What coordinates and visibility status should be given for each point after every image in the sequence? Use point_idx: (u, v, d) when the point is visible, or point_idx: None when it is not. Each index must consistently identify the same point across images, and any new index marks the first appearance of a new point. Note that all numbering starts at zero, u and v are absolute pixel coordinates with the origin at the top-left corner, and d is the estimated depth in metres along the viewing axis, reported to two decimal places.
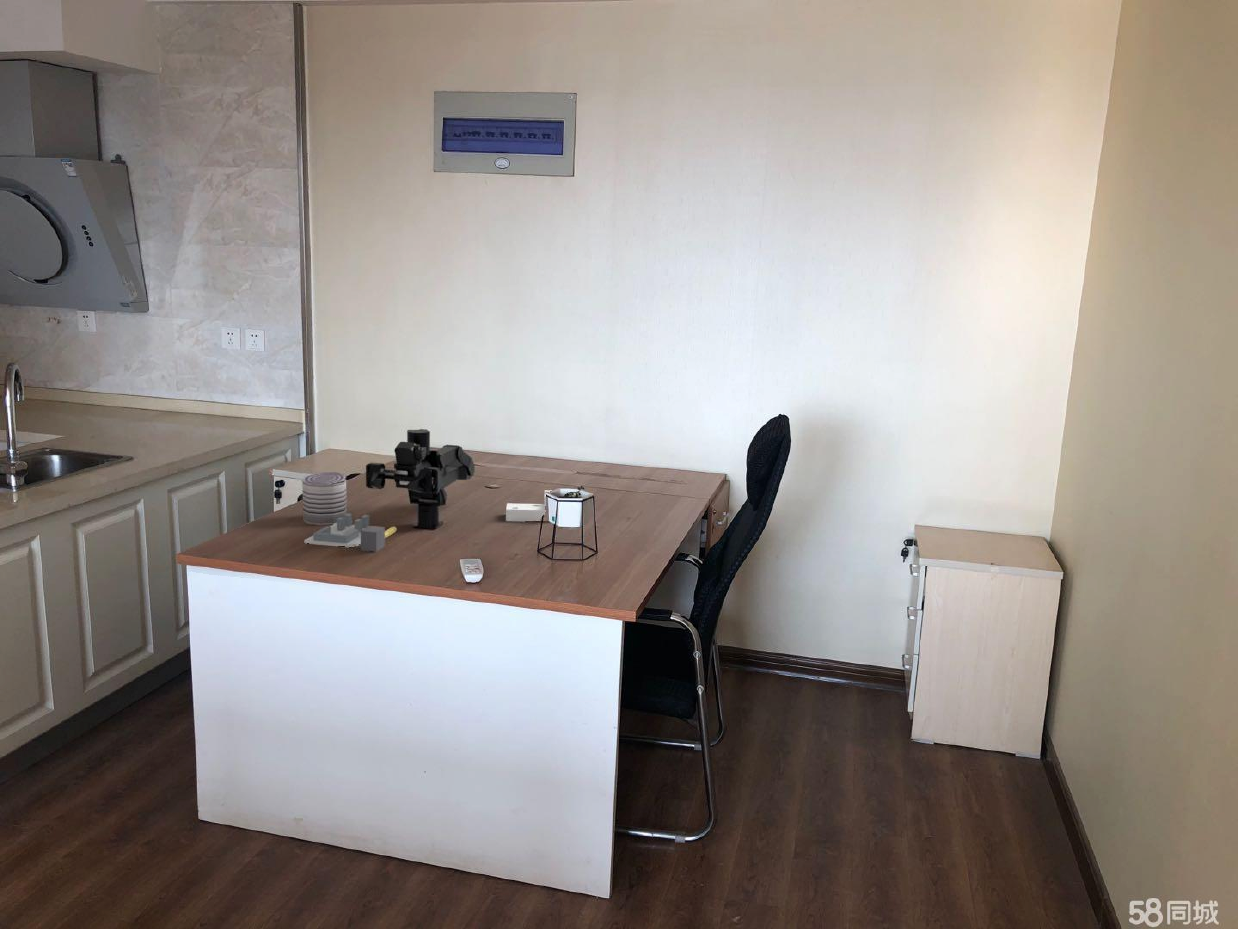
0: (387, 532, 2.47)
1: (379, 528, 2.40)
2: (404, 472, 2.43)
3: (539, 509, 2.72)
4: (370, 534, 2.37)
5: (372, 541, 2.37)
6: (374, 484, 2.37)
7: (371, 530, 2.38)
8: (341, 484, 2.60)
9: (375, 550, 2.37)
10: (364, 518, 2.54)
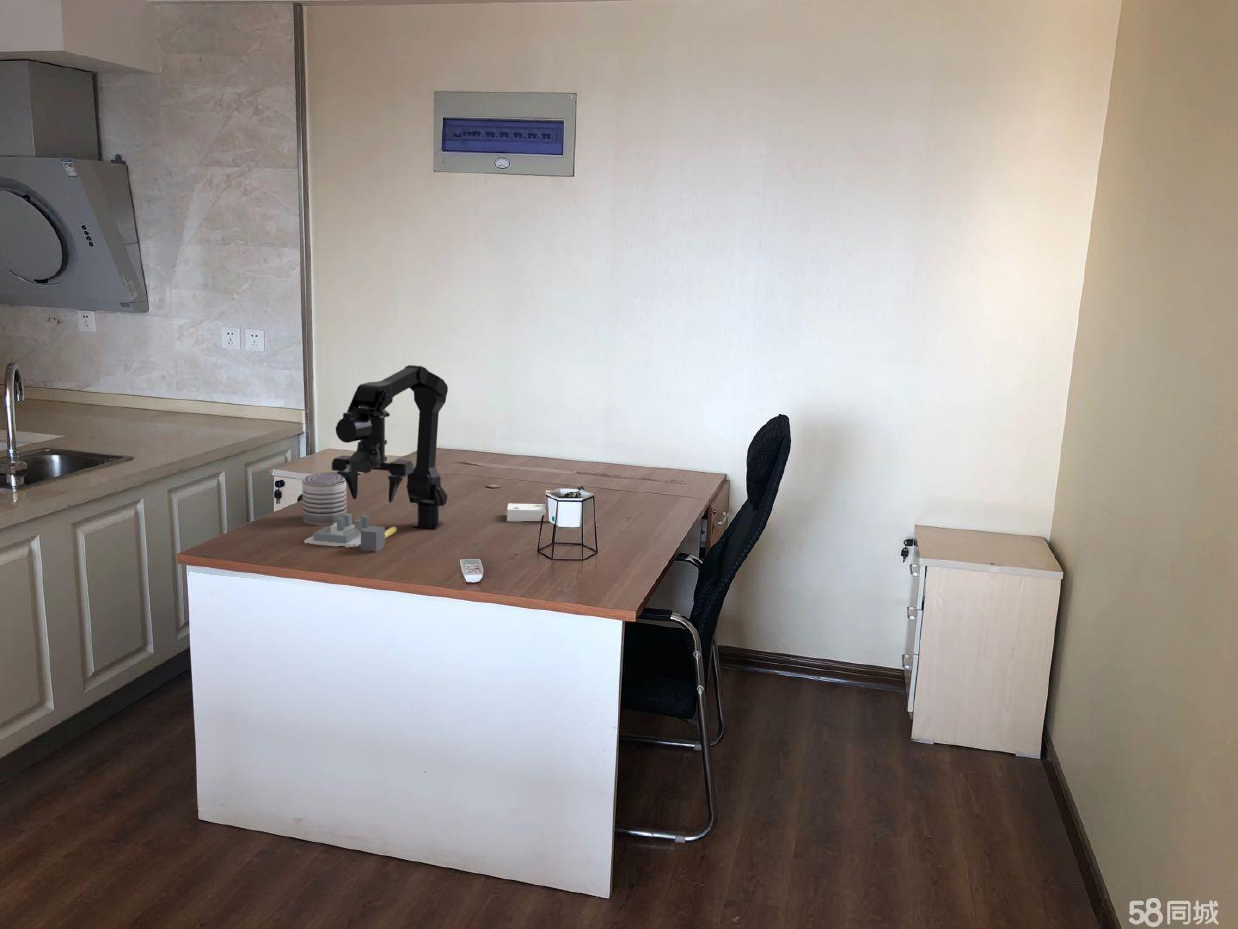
0: (387, 532, 2.47)
1: (379, 528, 2.40)
2: None
3: (540, 509, 2.72)
4: (370, 534, 2.37)
5: (372, 541, 2.37)
6: (356, 493, 2.39)
7: (371, 530, 2.38)
8: (341, 484, 2.60)
9: (375, 550, 2.37)
10: (364, 518, 2.54)
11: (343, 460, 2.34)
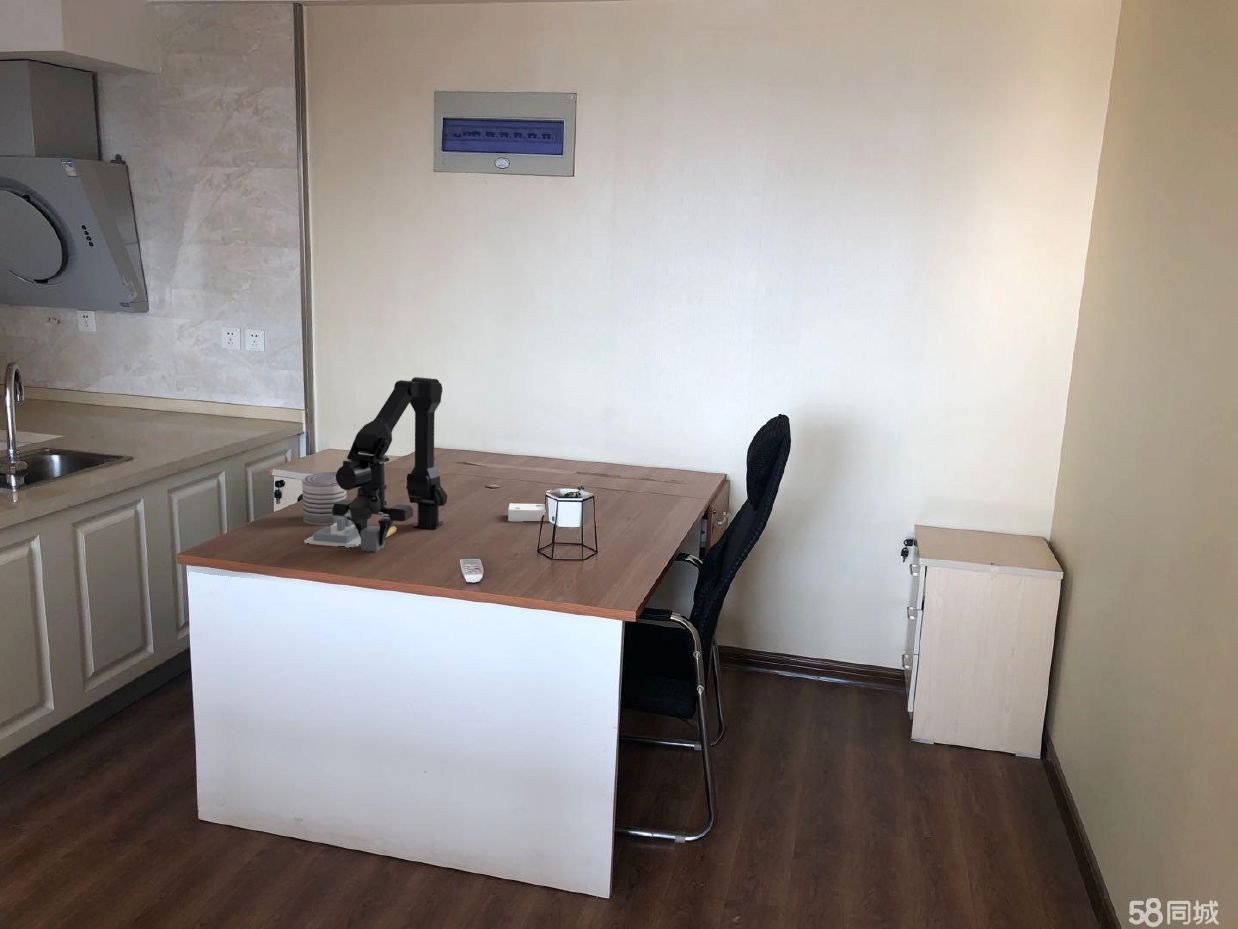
0: None
1: (379, 528, 2.40)
2: None
3: (541, 509, 2.72)
4: (370, 534, 2.37)
5: (372, 541, 2.37)
6: None
7: (371, 530, 2.38)
8: None
9: (375, 550, 2.37)
10: None
11: (343, 505, 2.37)
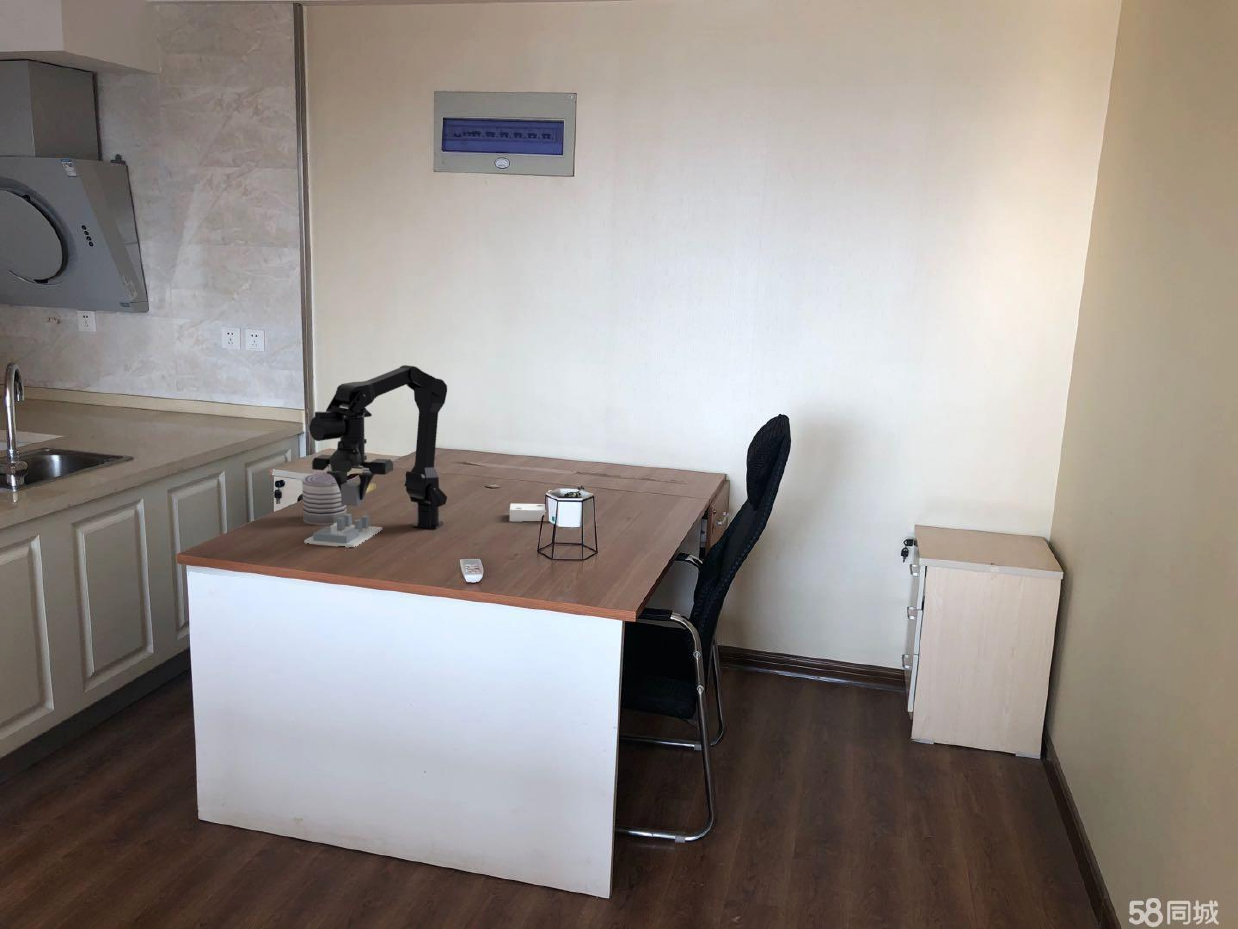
0: (367, 488, 2.48)
1: (359, 482, 2.41)
2: None
3: (543, 509, 2.72)
4: (351, 488, 2.38)
5: (353, 495, 2.38)
6: None
7: (351, 484, 2.39)
8: None
9: (355, 504, 2.38)
10: (364, 518, 2.54)
11: (323, 459, 2.37)
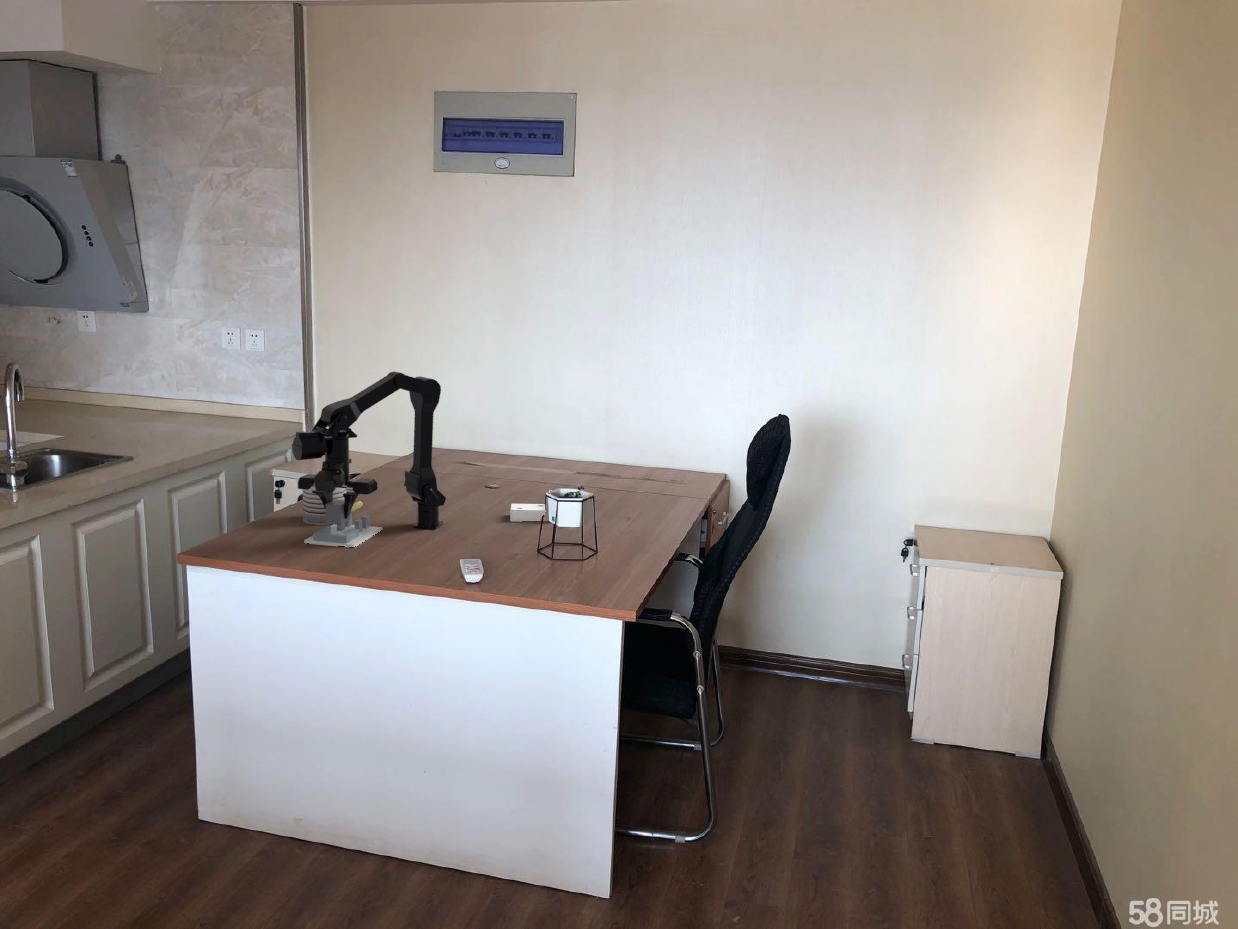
0: (353, 506, 2.52)
1: (344, 501, 2.45)
2: None
3: (543, 509, 2.72)
4: (335, 507, 2.41)
5: (337, 514, 2.42)
6: None
7: (336, 503, 2.42)
8: None
9: (340, 523, 2.42)
10: (364, 518, 2.54)
11: (309, 479, 2.41)
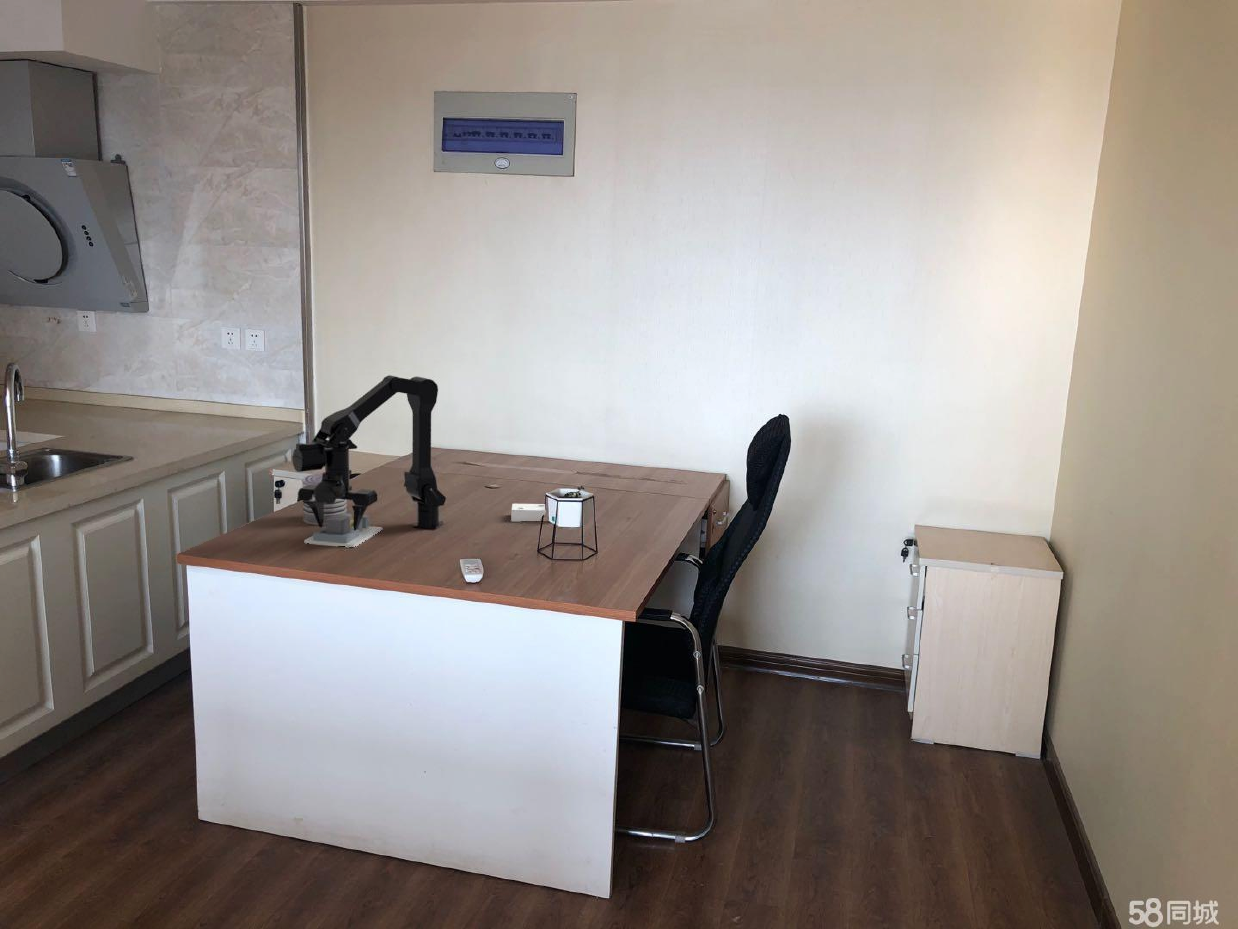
0: (353, 521, 2.52)
1: (344, 517, 2.45)
2: None
3: (544, 509, 2.72)
4: (335, 523, 2.42)
5: (337, 529, 2.42)
6: (322, 521, 2.46)
7: (336, 519, 2.43)
8: None
9: None
10: (364, 518, 2.54)
11: (309, 490, 2.42)
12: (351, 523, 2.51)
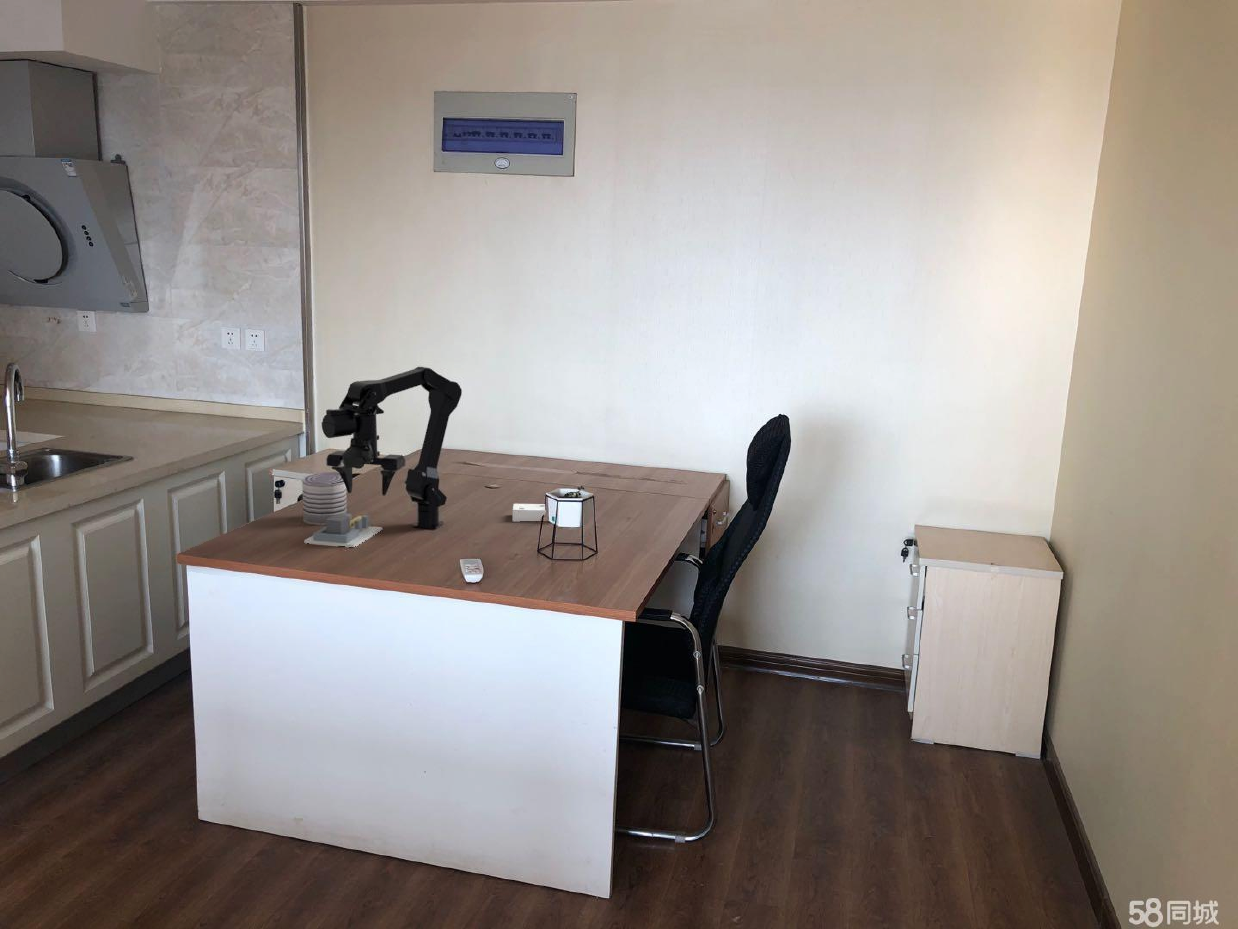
0: (353, 521, 2.52)
1: (344, 517, 2.45)
2: None
3: None
4: (335, 523, 2.42)
5: (337, 529, 2.42)
6: (351, 487, 2.47)
7: (336, 519, 2.43)
8: (341, 484, 2.60)
9: None
10: (364, 518, 2.54)
11: (337, 456, 2.43)
12: (351, 523, 2.51)
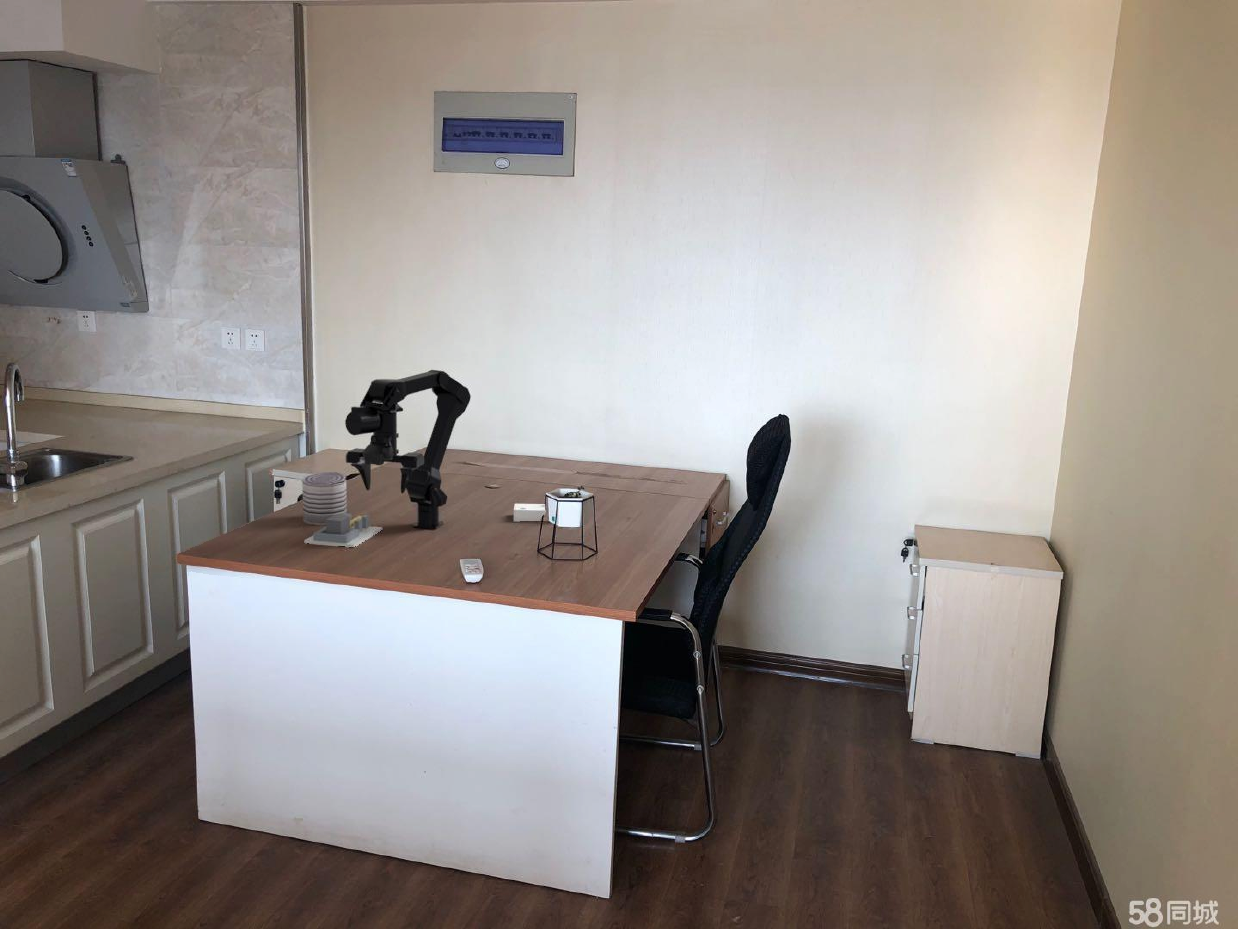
0: (353, 521, 2.52)
1: (344, 517, 2.45)
2: None
3: None
4: (335, 523, 2.42)
5: (337, 529, 2.42)
6: (369, 484, 2.48)
7: (336, 519, 2.43)
8: (341, 484, 2.60)
9: None
10: (364, 518, 2.54)
11: (357, 453, 2.44)
12: (351, 523, 2.51)
